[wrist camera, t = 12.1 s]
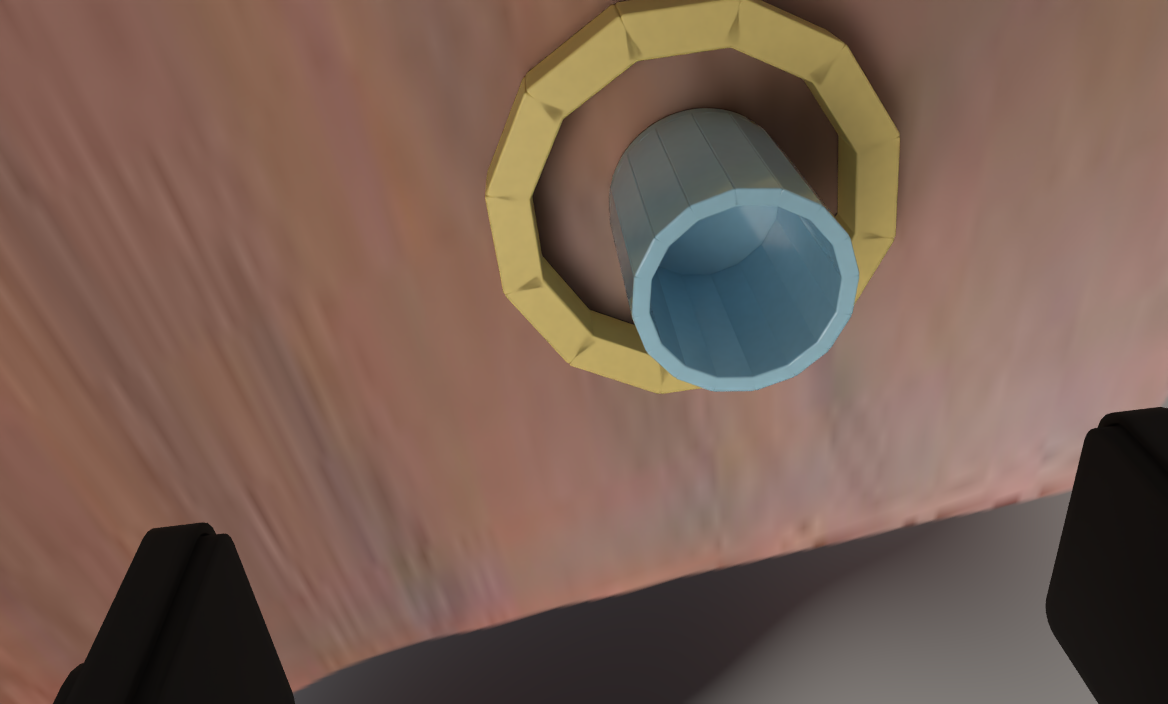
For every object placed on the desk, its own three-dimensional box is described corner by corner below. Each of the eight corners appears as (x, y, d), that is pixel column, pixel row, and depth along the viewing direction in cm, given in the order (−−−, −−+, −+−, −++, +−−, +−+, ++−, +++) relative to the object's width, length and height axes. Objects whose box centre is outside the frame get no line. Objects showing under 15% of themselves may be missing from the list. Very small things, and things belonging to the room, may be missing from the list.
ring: (526, 384, 35) (526, 413, 34) (457, 25, 29) (454, 38, 27) (872, 334, 35) (890, 361, 33) (884, -38, 28) (908, -28, 27)
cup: (579, 243, 32) (596, 351, 26) (657, 77, 30) (697, 152, 23) (734, 302, 34) (786, 418, 28) (822, 149, 31) (902, 238, 25)
